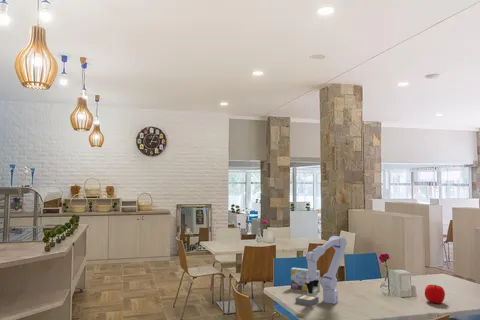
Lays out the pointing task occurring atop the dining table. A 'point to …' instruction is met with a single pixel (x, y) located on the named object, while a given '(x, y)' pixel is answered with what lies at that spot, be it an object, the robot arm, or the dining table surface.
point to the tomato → (434, 293)
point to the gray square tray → (307, 302)
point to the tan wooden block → (307, 297)
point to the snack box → (301, 278)
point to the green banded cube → (315, 291)
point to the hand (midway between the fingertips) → (312, 292)
